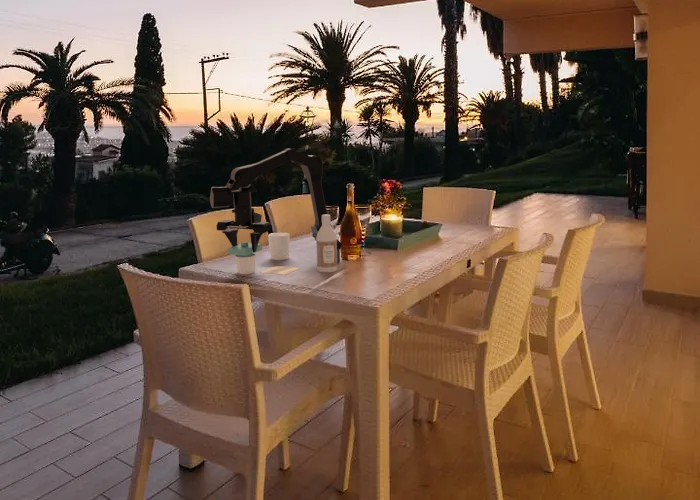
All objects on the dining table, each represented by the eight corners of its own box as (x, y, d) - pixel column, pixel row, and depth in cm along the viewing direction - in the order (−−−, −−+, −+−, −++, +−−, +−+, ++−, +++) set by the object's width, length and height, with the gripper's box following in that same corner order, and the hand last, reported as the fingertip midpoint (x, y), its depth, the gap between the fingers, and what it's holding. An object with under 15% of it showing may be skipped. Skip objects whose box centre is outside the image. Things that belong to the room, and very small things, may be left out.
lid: (261, 249, 208) (261, 240, 207) (245, 255, 199) (245, 246, 198) (244, 248, 210) (244, 239, 210) (228, 254, 201) (227, 244, 201)
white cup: (286, 263, 222) (285, 236, 220) (266, 262, 224) (265, 236, 222) (293, 258, 230) (292, 232, 228) (273, 257, 231) (272, 232, 229)
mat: (300, 270, 210) (300, 268, 210) (286, 277, 201) (286, 274, 201) (275, 268, 214) (275, 265, 214) (260, 275, 205) (260, 272, 205)
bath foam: (319, 275, 203) (317, 217, 199) (315, 270, 210) (313, 214, 205) (339, 274, 205) (338, 215, 200) (335, 269, 211) (333, 213, 207)
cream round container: (260, 273, 208) (259, 253, 206) (249, 278, 202) (248, 257, 200) (243, 271, 211) (242, 252, 209) (232, 276, 204) (231, 256, 203)
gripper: (279, 203, 205) (281, 248, 208) (232, 201, 212) (235, 245, 215) (261, 208, 195) (264, 255, 198) (214, 205, 202) (217, 251, 205)
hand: (245, 251), depth 204 cm, fingers closed on lid, 7 cm apart
